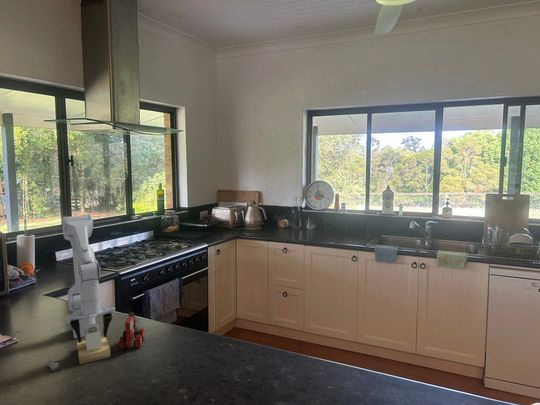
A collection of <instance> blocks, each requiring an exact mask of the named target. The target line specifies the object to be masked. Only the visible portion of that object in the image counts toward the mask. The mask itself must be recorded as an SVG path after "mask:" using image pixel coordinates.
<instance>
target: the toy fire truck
mask: <svg viewBox="0 0 540 405" xmlns="http://www.w3.org/2000/svg"><path fill="white" fill-rule="evenodd" d="M124 329H125V330H123V331H122V336H120V337H119V343H118V344H119V345H118V348H119V349H120V350H124V349H125V348H126V346H127V347H128V348H129V347H133V345H134V344H135V347H136V348H141V347H142V342H143V341H144V340H145V329H144V328H138V324H137V320H136V316H135V313H134V312H129V313H128V314H127V319H126V320H125V323H124Z"/></svg>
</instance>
